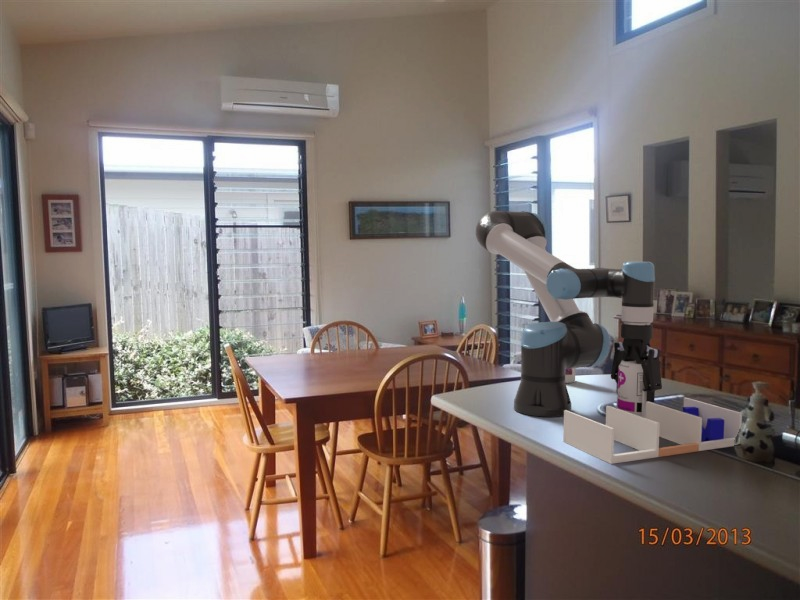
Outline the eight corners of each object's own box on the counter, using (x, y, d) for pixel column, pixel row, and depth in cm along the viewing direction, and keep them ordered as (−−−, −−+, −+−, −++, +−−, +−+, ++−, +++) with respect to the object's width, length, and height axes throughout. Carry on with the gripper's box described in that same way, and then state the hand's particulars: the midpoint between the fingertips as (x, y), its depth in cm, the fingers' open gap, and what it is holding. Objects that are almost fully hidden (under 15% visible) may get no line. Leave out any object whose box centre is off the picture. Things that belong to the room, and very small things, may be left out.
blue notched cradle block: (675, 431, 153) (676, 407, 152) (693, 431, 153) (694, 406, 152) (703, 447, 141) (704, 420, 140) (723, 446, 141) (724, 419, 141)
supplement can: (617, 423, 159) (619, 363, 158) (616, 414, 167) (618, 358, 166) (652, 425, 157) (654, 365, 156) (649, 417, 165) (651, 359, 164)
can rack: (610, 463, 129) (611, 428, 128) (563, 441, 144) (564, 410, 143) (740, 444, 141) (742, 413, 141) (684, 426, 156) (685, 397, 156)
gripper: (680, 327, 152) (677, 421, 153) (620, 318, 171) (618, 401, 173) (656, 328, 149) (652, 424, 151) (597, 319, 168) (595, 404, 170)
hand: (634, 412), depth 162 cm, fingers closed on supplement can, 8 cm apart
